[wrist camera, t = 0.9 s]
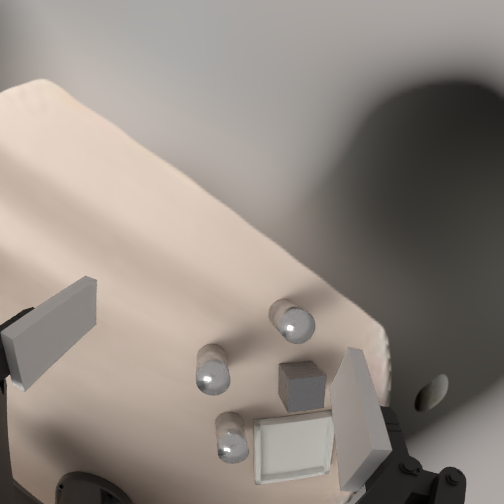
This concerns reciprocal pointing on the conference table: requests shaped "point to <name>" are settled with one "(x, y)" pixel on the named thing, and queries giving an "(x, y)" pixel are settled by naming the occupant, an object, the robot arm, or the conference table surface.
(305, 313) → the cylinder
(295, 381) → the slate cube
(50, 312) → the robot arm
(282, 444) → the tray
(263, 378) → the conference table surface
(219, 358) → the cylinder
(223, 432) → the spacer
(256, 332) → the conference table surface
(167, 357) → the conference table surface
